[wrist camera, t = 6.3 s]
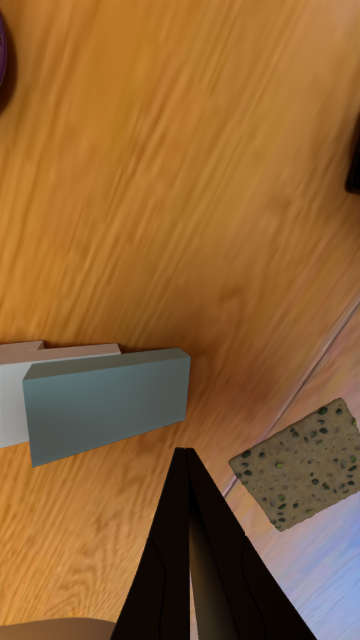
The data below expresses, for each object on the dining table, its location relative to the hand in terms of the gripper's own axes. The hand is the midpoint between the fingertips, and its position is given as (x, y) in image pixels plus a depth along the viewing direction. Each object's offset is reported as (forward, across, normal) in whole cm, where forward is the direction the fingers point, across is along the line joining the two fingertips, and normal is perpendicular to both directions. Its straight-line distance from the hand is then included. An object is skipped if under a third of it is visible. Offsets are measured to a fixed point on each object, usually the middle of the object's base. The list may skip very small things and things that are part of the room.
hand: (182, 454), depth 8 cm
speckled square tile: (+7, -14, +9) cm, 18 cm away
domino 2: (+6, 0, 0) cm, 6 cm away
